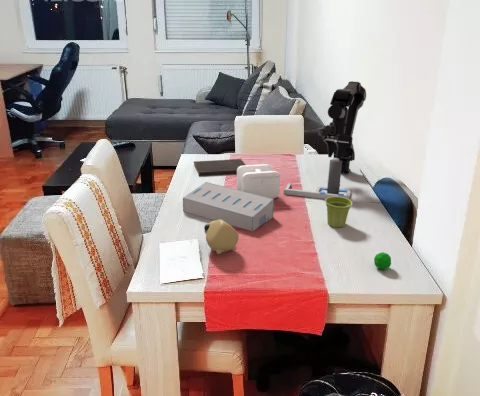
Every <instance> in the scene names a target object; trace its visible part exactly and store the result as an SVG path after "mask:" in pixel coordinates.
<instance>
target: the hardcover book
mask: <svg viewBox="0 0 480 396" xmlns="http://www.w3.org/2000/svg"><path fill="white" fill-rule="evenodd" d="M243 165H246V163H245V162H244V161H243V160H242V158H237V159H236V158H235V159H234V158H233V159H218V160H214V159H213V160H201V161H199V160H196V161H193V166H194V168H195V170H196V172H197V174H198V177H209V176H223V175H225V176H226V175H237V168H238V167H239V166H243Z"/></svg>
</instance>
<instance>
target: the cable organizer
mask: <svg viewBox="0 0 480 396" xmlns="http://www.w3.org/2000/svg"><path fill="white" fill-rule="evenodd" d="M280 183H281V174H280V173H279V172H278V171H277V170H273V169H272V166H271V165H270V164H267V163H266V164H265V163H264V164H248V165H247V164H245V165H243V166H239V167H238V168H237V174H236V190H240V191H244V192H248V193H252V194H256V195H260V196H264V197H268V198H272V199H275V198H278V197H279V194H280Z"/></svg>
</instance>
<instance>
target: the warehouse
mask: <svg viewBox="0 0 480 396" xmlns="http://www.w3.org/2000/svg"><path fill="white" fill-rule="evenodd" d="M274 202H275V198H268V197H264V196H260V195H256V194H252V193H248V192H244V191H240V190H237V188H232V187H228V186H224V185H221V184H220V185H219V184H216V183H213V182H212V183H211V182H207V181H206V182H204V183H202V184H201V185H200V186H198V187H197V188H195V189H194V190H192V191H191V192H189V193H188V194H186V195H185V196H183V197H182V211H183V212H185V213H189V214H193V215H196V216H199V217H202V218H206V219H209V220H212V221H215V220H218V219H220V220H223V221H225V222H227V223H228V224H229V225H230V226H232V227H237V228H239V229H243V230H246V231H250V232H253V231H255V230H256V229H258V228H259V227H260V226H262V225H263V224H265V223H267V222H268V221H270V220H271V219H272V218H274Z"/></svg>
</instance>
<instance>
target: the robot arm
mask: <svg viewBox="0 0 480 396" xmlns="http://www.w3.org/2000/svg"><path fill="white" fill-rule="evenodd" d="M361 84H362V83H361V82H360V81H349V82H348V83H347V85H346V86H345V87H343V88H338V89H336V90H335V91H334V92H333V94H332V98H331V100H330V103H329V104H330V106H329V107H328V109H327V115H328V117H329V118H330V119H332V121H331V122H330V123H329V124H327V125H324V126H323V127H318V128H316V130H317V134H318V137H321V139H322V141H323V142H324V143H325V144H326V148H327V155H328V156H327V157H328V158H332V156H333V158H339V160H341V161H342V168H341V174H347V175H350V172H351V168H350V163H351V162H353V161H355V159H356V157H355V156H356V154H355V148H354V143H353V139H354V138H353V134H354V129H355V124H356V122H357V117H358V112H359V110H360V109H361V108H362V107H363V106H364V103H365V101H366V99H367V90H366V88H365V87H363V86H362V85H361Z"/></svg>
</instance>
